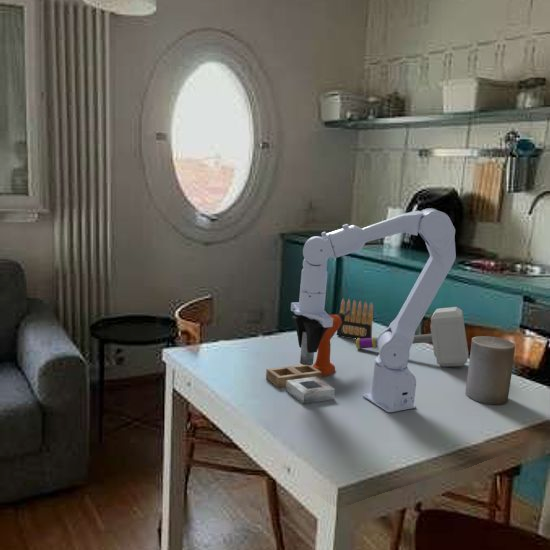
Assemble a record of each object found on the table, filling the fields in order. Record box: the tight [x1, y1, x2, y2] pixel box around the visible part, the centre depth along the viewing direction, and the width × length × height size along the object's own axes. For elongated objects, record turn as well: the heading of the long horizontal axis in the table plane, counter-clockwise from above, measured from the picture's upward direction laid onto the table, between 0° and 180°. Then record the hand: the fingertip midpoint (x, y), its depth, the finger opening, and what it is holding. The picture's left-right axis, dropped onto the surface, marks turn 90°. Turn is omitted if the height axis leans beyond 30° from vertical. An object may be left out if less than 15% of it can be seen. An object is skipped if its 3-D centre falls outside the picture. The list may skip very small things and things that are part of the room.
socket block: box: [285, 377, 336, 405], centre depth 128 cm, size 8×8×2 cm
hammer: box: [355, 306, 469, 368], centre depth 159 cm, size 15×8×30 cm
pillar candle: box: [465, 335, 516, 406], centre depth 133 cm, size 10×10×15 cm
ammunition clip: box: [336, 298, 374, 340], centre depth 174 cm, size 11×2×12 cm, turn 69°
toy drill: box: [312, 309, 351, 377], centre depth 146 cm, size 5×19×15 cm, turn 148°
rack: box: [265, 364, 323, 388], centre depth 136 cm, size 12×6×2 cm, turn 118°
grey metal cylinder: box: [299, 330, 315, 366], centre depth 128 cm, size 3×3×8 cm
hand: (307, 349), depth 128 cm, fingers closed on grey metal cylinder, 3 cm apart
